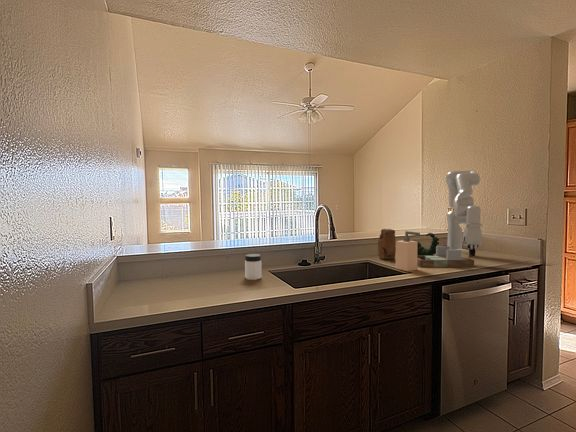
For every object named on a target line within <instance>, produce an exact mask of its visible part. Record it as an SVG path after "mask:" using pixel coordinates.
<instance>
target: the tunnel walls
mask: <svg viewBox="0 0 576 432" xmlns="http://www.w3.org/2000/svg"><path fill="white" fill-rule="evenodd" d="M435 255H436V256H446V260H461V250H450V246H447V245H446V246H445V245H439V246H438V245H437V246H436V254H435Z"/></svg>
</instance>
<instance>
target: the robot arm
mask: <svg viewBox="0 0 576 432" xmlns="http://www.w3.org/2000/svg"><path fill="white" fill-rule="evenodd" d="M445 182H446V185H447V188H448V205H449V208H451V209H453V210H449V211H448V212H447V213H446V220H447V245H446V246H450V250H457V249H463V247H467V248H468V250H469V256H471V257H475V256H476V250H477V248H479V247H482V244H483V230H482V228H481V227H483V224H481V214H482V213H481V207H480V206H479V205H478V206H477V205H475V199H474V198H473V196H472V194H473V193H474V191H473V187H472V186H478V185H479V184H480V182H481V177H480V175H479V173H478V172H476V171H475V170H453V171H452V170H451V171H448V172H447V174H446V175H445ZM460 224H461V225H462V224H465V227H464V229H463V228H462V227H461V225H460Z"/></svg>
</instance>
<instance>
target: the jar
mask: <svg viewBox="0 0 576 432" xmlns="http://www.w3.org/2000/svg"><path fill="white" fill-rule="evenodd" d="M262 263H263V262H262V255H261V254H260V253H249V254H245V255H244V277H245V279H246V280H247V281H248V280H249V281H250V280H251V281H256V280H260V279H262V278H263V277H262V275H263V273H262V269H263V268H262V267H263V266H262Z"/></svg>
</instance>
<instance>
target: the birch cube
mask: <svg viewBox="0 0 576 432" xmlns="http://www.w3.org/2000/svg"><path fill="white" fill-rule="evenodd" d="M457 250H461V258H470V257H469V256H470V255H469V249H466V248H462V249H457Z"/></svg>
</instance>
